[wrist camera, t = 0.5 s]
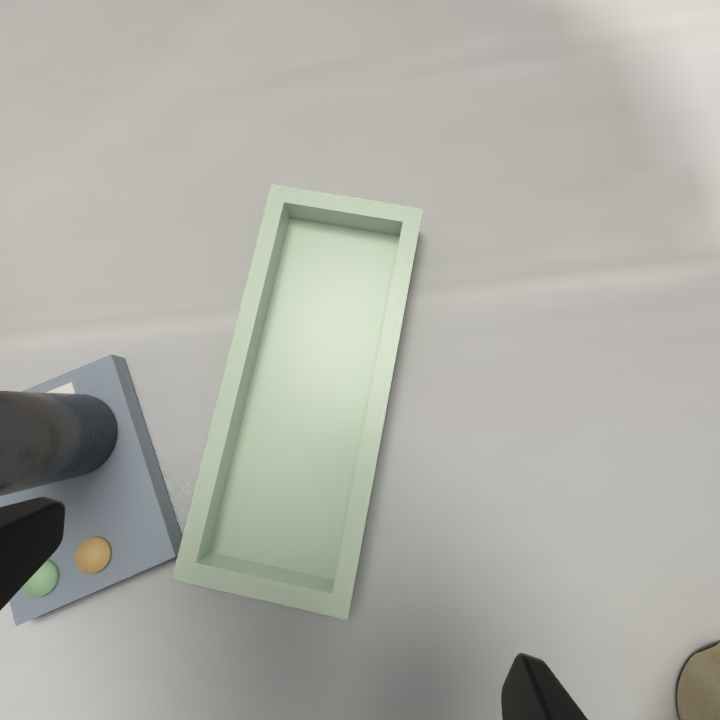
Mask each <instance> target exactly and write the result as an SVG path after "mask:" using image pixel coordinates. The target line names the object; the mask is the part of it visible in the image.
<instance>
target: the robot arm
mask: <svg viewBox="0 0 720 720" xmlns="http://www.w3.org/2000/svg"><path fill="white" fill-rule="evenodd" d="M65 511H66V507H65V505H64V503H63V502H61V501H58V500H55V499H52V498H49V497H38V498H34V499H30V500H26V501H22V502H18V503H14V504H10V505H6V506H2V507H0V610H1V609H2V608H3V607H4V606H5V605H6V604H7V603H8V602H9V601H10V600H11V599H12V597H13V596H14V595H15V594H16V593H17V592H18V591H19V590H20V589H21V588H22V587H23V586H24V585H25V583H26V582H27V581H28V580H29V579H30V578H31V577H32V576H33V575H34V574H35V573H36V572H37V571H38V570H39V568H40V567H41V566H42V565H43V564H44V563H45V562H46V561H47V560H48V559H49V558H50V557H51V556H52V554H53V553H54V552H55V551H56V550H57V549H58V547H59V546H60V544H61V542H62V539H63V535H64V523H65ZM501 705H502V718H503V720H588V719H587V718H586V716H585V715H584V714H583V712H582V711H581V710H580V708H579V707H578V706H577V704H576V703H575V702H574V700H573V699H572V698H571V696H570V695H569V694H568V692H567V691H566V690H565V688H564V687H563V686H562V684H561V683H560V682H559V680H558V679H557V678H556V676H555V675H554V674H553V672H552V671H551V670H550V668H549V667H548V666H547V665H546V663H545V662H544V661H543V660H541V659H539V658H536V657H533V656H530V655H527V654H524V653H520V654H518V655H517V656H516V658H515V660H514V662H513V664H512V666H511V669H510V671H509V673H508V675H507V678H506V680H505V682H504V685H503V688H502V694H501Z"/></svg>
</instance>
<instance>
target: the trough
mask: <svg viewBox="0 0 720 720" xmlns="http://www.w3.org/2000/svg"><path fill="white" fill-rule="evenodd" d="M422 212H423V208H416V207H410V206H404V205H398V204H392V203H385V202H379V201H373V200H367V199H361V198H354V197H348V196H342V195H336V194H330V193H324V192H317V191H311V190H305V189H299V188H293V187H286V186H280V185H274V184H271V187H270V191H269V195H268V199H267V203H266V207H265V211H264V215H263V219H262V223H261V226H260V230H259V234H258V238H257V242H256V246H255V250H254V254H253V258H252V262H251V266H250V270H249V274H248V278H247V282H246V286H245V290H244V294H243V298H242V302H241V306H240V310H239V314H238V318H237V322H236V326H235V330H234V334H233V338H232V342H231V346H230V350H229V354H228V358H227V362H226V366H225V370H224V374H223V378H222V382H221V385H220V389H219V393H218V397H217V401H216V405H215V409H214V413H213V417H212V421H211V425H210V429H209V433H208V437H207V441H206V445H205V449H204V453H203V457H202V461H201V465H200V469H199V473H198V477H197V481H196V485H195V489H194V493H193V497H192V501H191V505H190V509H189V513H188V517H187V521H186V525H185V529H184V533H183V537H182V540H181V544H180V548H179V552H178V556H177V560H176V564H175V568H174V572H173V576H172V580H175V581H180V582H184V583H188V584H193V585H197V586H202V587H206V588H210V589H215V590H219V591H223V592H228V593H232V594H236V595H241V596H245V597H249V598H254V599H258V600H262V601H267V602H271V603H275V604H280V605H284V606H288V607H293V608H297V609H301V610H306V611H310V612H315V613H319V614H323V615H328V616H332V617H336V618H341V619H345V620H348V616H349V610H350V605H351V599H352V594H353V588H354V583H355V577H356V572H357V566H358V561H359V555H360V550H361V545H362V539H363V534H364V528H365V523H366V517H367V512H368V506H369V501H370V495H371V490H372V485H373V479H374V474H375V468H376V463H377V457H378V452H379V446H380V441H381V435H382V430H383V425H384V419H385V414H386V408H387V403H388V397H389V392H390V386H391V381H392V375H393V370H394V364H395V359H396V354H397V348H398V343H399V337H400V332H401V326H402V321H403V315H404V310H405V304H406V299H407V294H408V288H409V283H410V277H411V272H412V266H413V261H414V255H415V250H416V244H417V239H418V234H419V228H420V223H421V217H422Z"/></svg>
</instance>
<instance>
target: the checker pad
mask: <svg viewBox="0 0 720 720" xmlns="http://www.w3.org/2000/svg"><path fill="white" fill-rule="evenodd" d="M22 392H41V393H68V394H86V395H91V396H94V397H96V398H98V399H100V400H101V401H103V402H104V403H105V404H106V405H107V406H108V407H109V408H110V410H111V411H112V413H113V415H114V417H115V420H116V424H117V440H116V444H115V447H114V450H113V452H112V453H111V455H110V457H109V458H108V460H107V461H106V462H105V463H104V464H103V465H102V466H101V467H99V468H98V469H97V470H95V471H93V472H91V473H89V474H86V475H83V476H79V477H75V478H71V479H67V480H63V481H59V482H55V483H51V484H47V485H43V486H39V487H35V488H31V489H27V490H23V491H19V492H15V493H11V494H7V495H3V496H0V507H2V506H6V505H10V504H14V503H18V502H22V501H26V500H30V499H34V498H38V497H49V498H52V499H55V500H58V501H61V502H63V503H64V505H65V507H66V511H65V523H64V535H63V539H62V542H61V544H60V546H59V547H58V549H57V550H56V551H55V552H54V553H53V554H52V556H51V557H50V558H49V559H48V560H47V561H46V562H45V563H44V564H43V565H42V566H41V567H40V568H39V570H38V571H37V572H36V573H35V574H34V575H33V576H32V577H31V578H30V579H29V580H28V581H27V582H26V583H25V585H24V586H23V587H22V588H21V589H20V590H19V591H18V592H17V593H16V594H15V595H14V596H13V597H12V599H11V600H10V604H11V608H12V612H13V616H14V620H15V624H16V626H17V625H20V624H22V623H24V622H27V621H29V620H31V619H34V618H36V617H38V616H40V615H43V614H45V613H47V612H50V611H52V610H54V609H57V608H59V607H61V606H64V605H66V604H68V603H70V602H73V601H75V600H77V599H80V598H82V597H84V596H87V595H89V594H91V593H93V592H96V591H98V590H100V589H103V588H105V587H107V586H110V585H112V584H114V583H116V582H119V581H121V580H123V579H126V578H128V577H130V576H133V575H135V574H137V573H139V572H142V571H144V570H146V569H149V568H151V567H153V566H156V565H158V564H160V563H162V562H165V561H167V560H169V559H172V558H174V557H176V556H177V555H178V552H179V548H180V544H181V540H182V536H181V533H180V530H179V526H178V523H177V520H176V517H175V514H174V511H173V508H172V505H171V502H170V499H169V495H168V492H167V489H166V486H165V483H164V480H163V477H162V474H161V471H160V468H159V464H158V461H157V458H156V455H155V452H154V449H153V446H152V443H151V440H150V437H149V433H148V430H147V427H146V424H145V421H144V418H143V415H142V412H141V409H140V405H139V402H138V399H137V396H136V393H135V390H134V387H133V384H132V381H131V378H130V374H129V371H128V368H127V365H126V362H125V359H124V358H122V357H118V356H115V355H109V356H107V357H104V358H102V359H100V360H97V361H95V362H92V363H90V364H87V365H85V366H83V367H80V368H78V369H75V370H73V371H70V372H68V373H66V374H63V375H61V376H58V377H56V378H54V379H51V380H49V381H46V382H44V383H41V384H39V385H37V386H34V387H32V388H29V389H27V390H24V391H22Z"/></svg>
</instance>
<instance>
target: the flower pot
mask: <svg viewBox="0 0 720 720" xmlns="http://www.w3.org/2000/svg"><path fill="white" fill-rule="evenodd" d="M677 705H678V712H679V716H680V719H681V720H720V642H719V643H718V644H717V645H715V646H713V647H711V648H709V649H707V650H704V651H701V652H698V653H695V654H694V655H693V656H692V657H691V658H690V659H689V661H688V662H687V664H686V665H685V667H684V669H683V671H682V674H681V676H680V680H679V684H678V691H677Z"/></svg>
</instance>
